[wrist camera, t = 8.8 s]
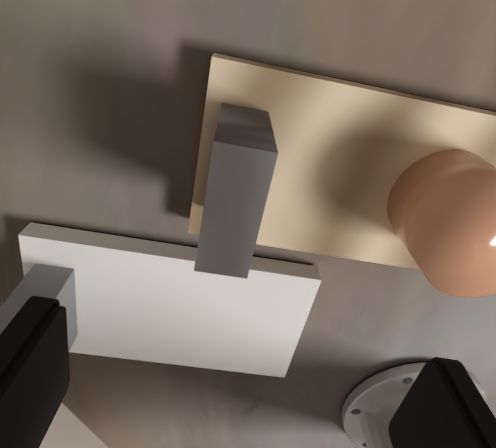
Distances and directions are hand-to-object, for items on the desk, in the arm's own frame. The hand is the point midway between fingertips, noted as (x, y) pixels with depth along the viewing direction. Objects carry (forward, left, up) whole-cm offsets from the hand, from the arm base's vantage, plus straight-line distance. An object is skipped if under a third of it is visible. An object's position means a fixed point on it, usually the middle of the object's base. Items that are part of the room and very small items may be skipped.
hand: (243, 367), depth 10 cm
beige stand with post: (-7, -1, -14) cm, 16 cm away
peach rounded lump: (-11, -1, -13) cm, 17 cm away
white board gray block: (+3, +11, -14) cm, 19 cm away
